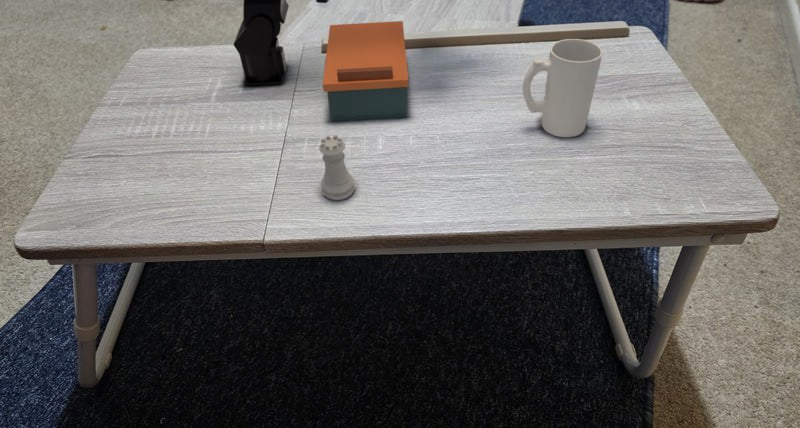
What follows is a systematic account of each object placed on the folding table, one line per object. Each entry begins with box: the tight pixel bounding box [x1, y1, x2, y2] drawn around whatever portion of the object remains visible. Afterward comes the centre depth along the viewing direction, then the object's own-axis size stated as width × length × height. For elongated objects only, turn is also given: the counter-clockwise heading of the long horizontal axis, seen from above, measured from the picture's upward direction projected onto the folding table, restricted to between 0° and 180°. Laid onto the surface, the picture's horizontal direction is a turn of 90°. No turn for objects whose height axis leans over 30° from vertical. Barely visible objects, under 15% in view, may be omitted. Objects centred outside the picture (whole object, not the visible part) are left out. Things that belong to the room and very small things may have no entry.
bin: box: [326, 87, 408, 122], centre depth 93 cm, size 19×12×6 cm, turn 2°
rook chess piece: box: [318, 134, 356, 201], centre depth 73 cm, size 4×4×8 cm
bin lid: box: [322, 20, 410, 93], centre depth 91 cm, size 20×12×3 cm, turn 2°
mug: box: [522, 38, 604, 138], centre depth 81 cm, size 10×7×12 cm, turn 92°
